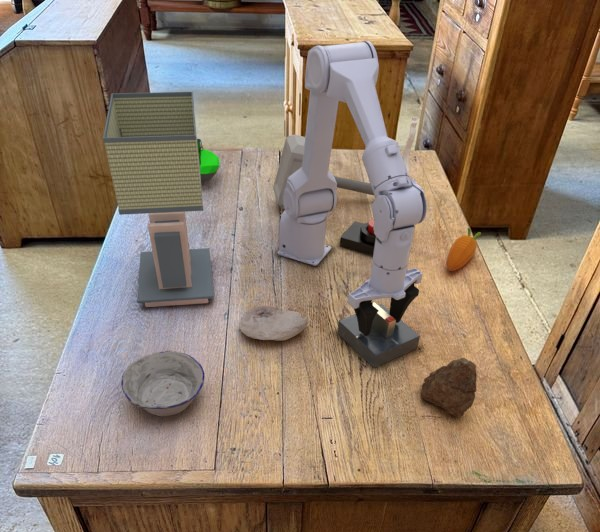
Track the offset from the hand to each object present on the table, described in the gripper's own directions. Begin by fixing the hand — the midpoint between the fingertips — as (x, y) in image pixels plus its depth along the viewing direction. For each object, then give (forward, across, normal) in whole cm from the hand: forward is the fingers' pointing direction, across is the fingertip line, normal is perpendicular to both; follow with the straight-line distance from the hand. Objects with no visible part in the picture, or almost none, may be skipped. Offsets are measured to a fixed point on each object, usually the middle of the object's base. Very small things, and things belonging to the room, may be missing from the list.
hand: (379, 326), depth 102 cm
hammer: (+4, +24, +45) cm, 51 cm away
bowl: (+4, -38, +7) cm, 39 cm away
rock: (+4, -1, -19) cm, 19 cm away
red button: (0, +20, +26) cm, 32 cm away
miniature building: (+4, 0, +73) cm, 73 cm away
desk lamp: (+4, -24, +35) cm, 42 cm away
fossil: (+4, -15, +12) cm, 20 cm away
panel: (+3, 0, 0) cm, 3 cm away
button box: (+3, +19, +27) cm, 33 cm away
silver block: (0, 0, 0) cm, 0 cm away
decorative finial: (+4, +28, +28) cm, 39 cm away
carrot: (+1, +25, +8) cm, 26 cm away
